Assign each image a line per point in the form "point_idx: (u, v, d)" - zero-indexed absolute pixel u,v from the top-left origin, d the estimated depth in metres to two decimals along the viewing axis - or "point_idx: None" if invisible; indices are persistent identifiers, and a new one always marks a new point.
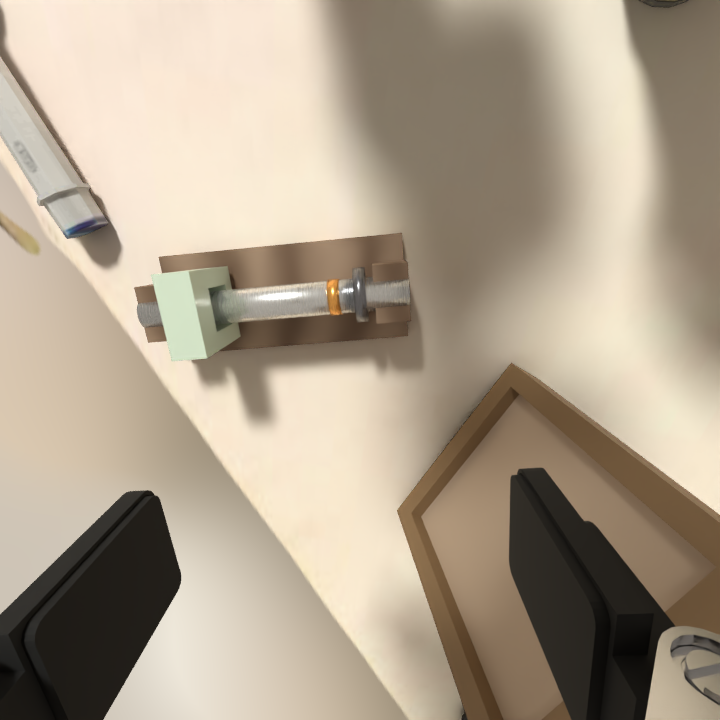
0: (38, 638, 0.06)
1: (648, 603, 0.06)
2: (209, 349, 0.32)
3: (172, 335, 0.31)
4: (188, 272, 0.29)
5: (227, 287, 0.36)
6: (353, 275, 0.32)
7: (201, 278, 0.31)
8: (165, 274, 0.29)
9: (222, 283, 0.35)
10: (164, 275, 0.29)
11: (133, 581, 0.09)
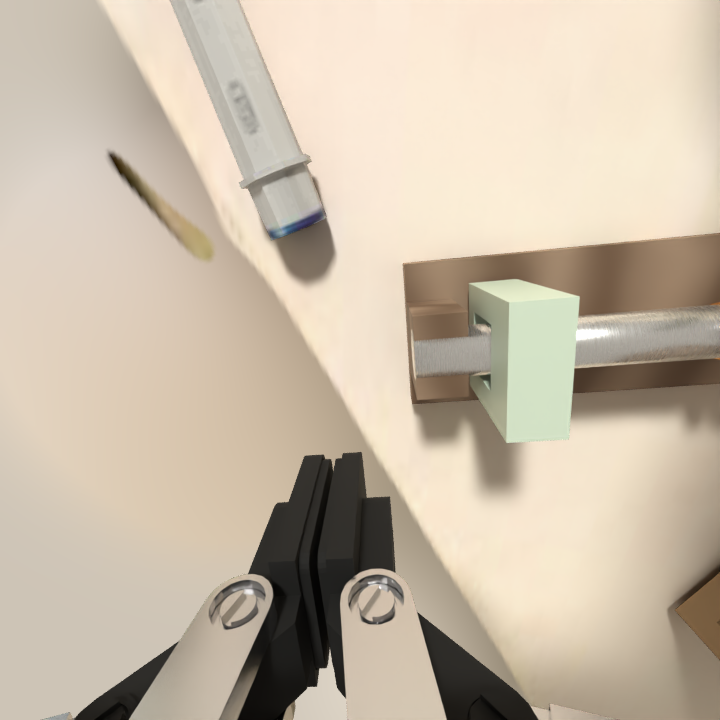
0: (307, 567, 0.07)
1: (385, 557, 0.08)
2: None
3: (519, 402, 0.18)
4: (578, 298, 0.17)
5: None
6: None
7: None
8: (536, 302, 0.17)
9: None
10: (533, 303, 0.17)
11: None
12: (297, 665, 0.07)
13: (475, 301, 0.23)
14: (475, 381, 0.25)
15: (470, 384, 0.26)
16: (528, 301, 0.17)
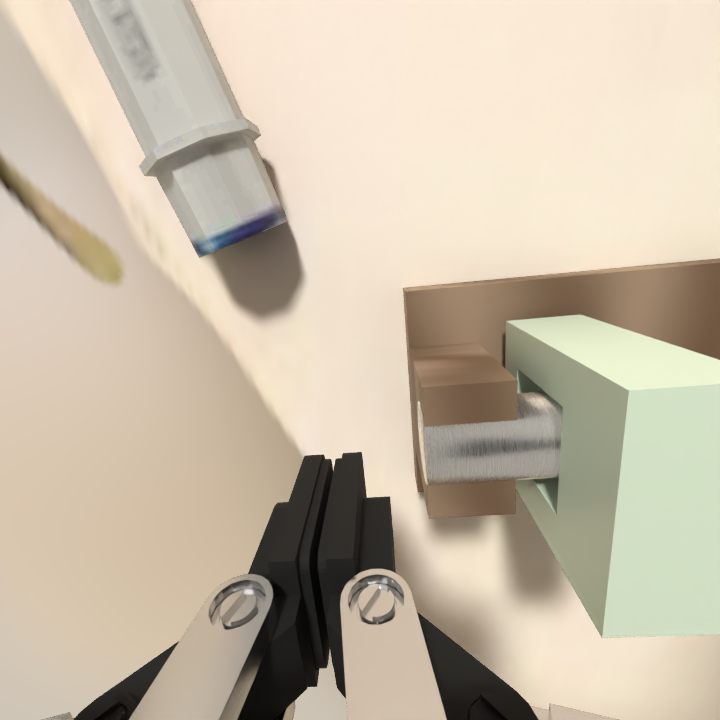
0: (307, 567, 0.07)
1: (385, 557, 0.08)
2: None
3: (632, 572, 0.09)
4: None
5: None
6: None
7: None
8: (685, 390, 0.08)
9: None
10: (679, 393, 0.08)
11: None
12: (297, 665, 0.07)
13: (521, 353, 0.14)
14: None
15: None
16: (668, 388, 0.08)
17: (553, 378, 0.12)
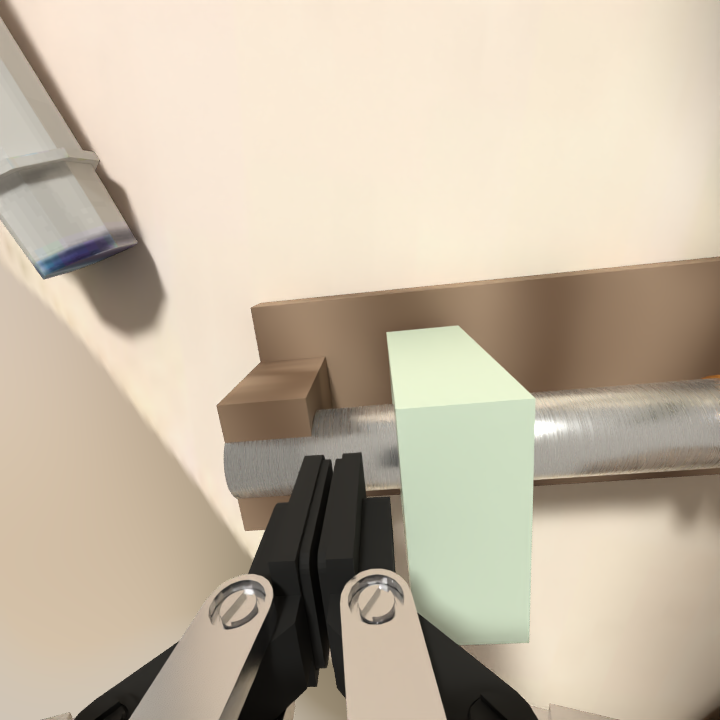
0: (307, 568, 0.07)
1: (385, 557, 0.08)
2: None
3: (432, 583, 0.10)
4: (534, 402, 0.08)
5: None
6: None
7: None
8: (448, 408, 0.08)
9: None
10: (444, 411, 0.08)
11: None
12: (297, 665, 0.07)
13: (389, 365, 0.14)
14: None
15: None
16: (434, 406, 0.08)
17: (392, 392, 0.12)
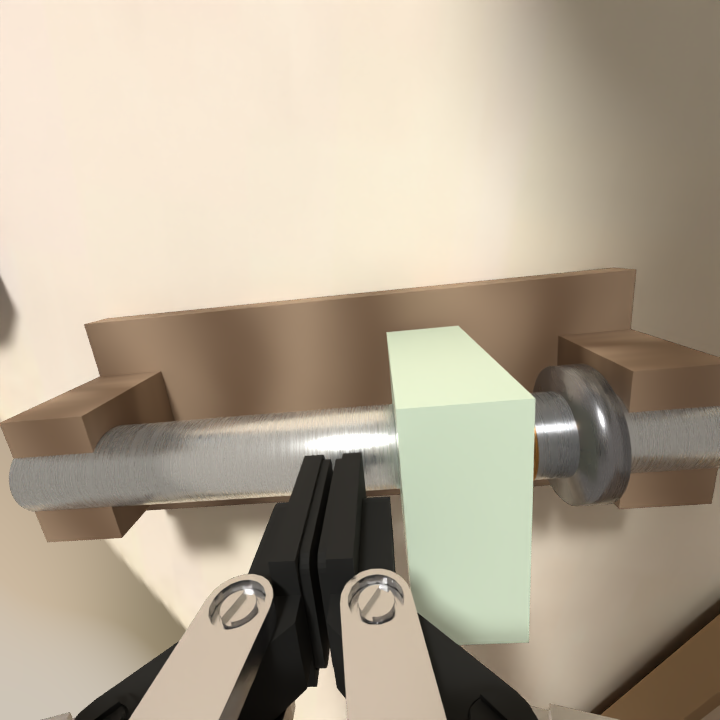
0: (307, 568, 0.07)
1: (385, 557, 0.08)
2: None
3: (432, 583, 0.10)
4: (533, 402, 0.08)
5: None
6: (587, 401, 0.11)
7: None
8: (448, 408, 0.08)
9: None
10: (444, 411, 0.08)
11: None
12: (297, 665, 0.07)
13: (389, 365, 0.15)
14: None
15: None
16: (434, 406, 0.08)
17: (392, 392, 0.12)
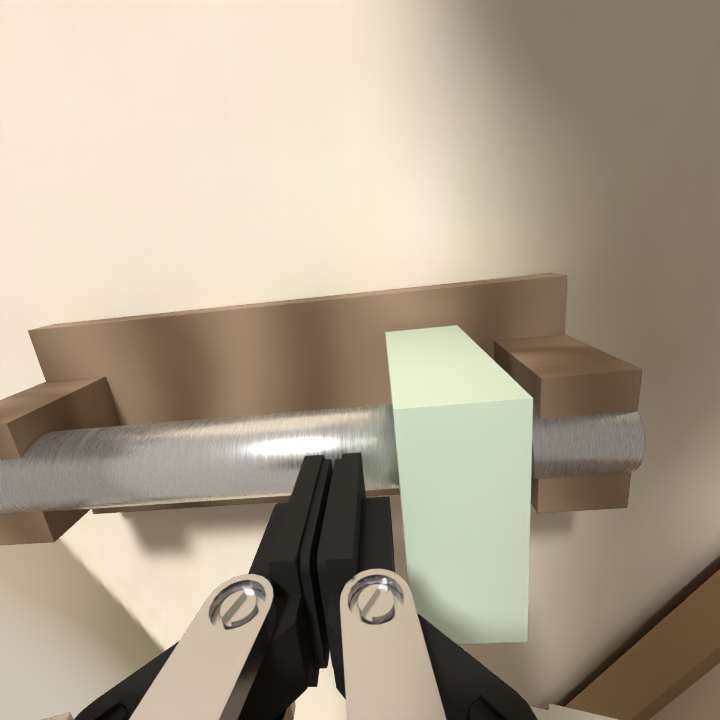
0: (307, 567, 0.07)
1: (384, 557, 0.08)
2: None
3: (431, 582, 0.10)
4: (531, 402, 0.08)
5: None
6: None
7: None
8: (446, 408, 0.08)
9: None
10: (441, 411, 0.08)
11: None
12: (297, 665, 0.07)
13: None
14: None
15: None
16: (431, 406, 0.08)
17: None
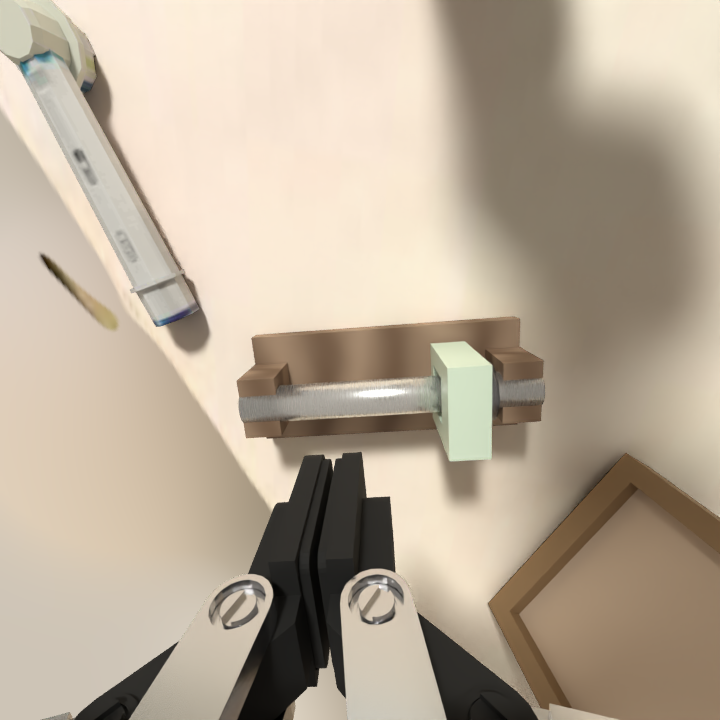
0: (307, 567, 0.07)
1: (385, 557, 0.08)
2: None
3: (456, 433, 0.27)
4: (491, 366, 0.26)
5: None
6: None
7: None
8: (464, 368, 0.26)
9: None
10: (463, 369, 0.26)
11: None
12: (297, 665, 0.07)
13: (433, 358, 0.32)
14: (435, 415, 0.33)
15: (433, 417, 0.35)
16: (459, 367, 0.26)
17: (439, 367, 0.29)
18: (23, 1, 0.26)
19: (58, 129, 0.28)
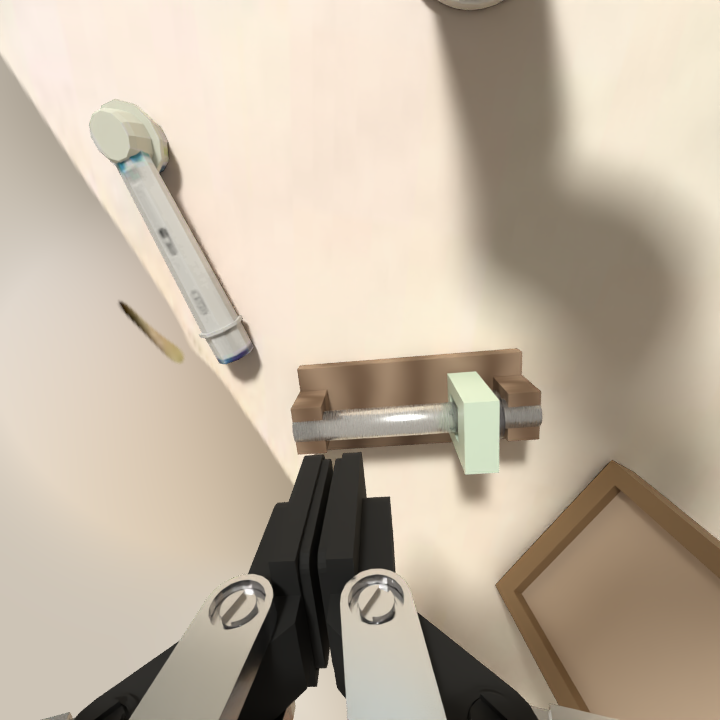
0: (307, 567, 0.07)
1: (385, 557, 0.08)
2: None
3: (471, 453, 0.34)
4: (499, 401, 0.32)
5: None
6: None
7: None
8: (477, 403, 0.32)
9: None
10: (476, 403, 0.32)
11: None
12: (297, 665, 0.07)
13: (450, 387, 0.39)
14: (451, 433, 0.40)
15: (449, 433, 0.42)
16: (473, 402, 0.32)
17: (455, 398, 0.36)
18: (122, 116, 0.32)
19: (146, 213, 0.34)
